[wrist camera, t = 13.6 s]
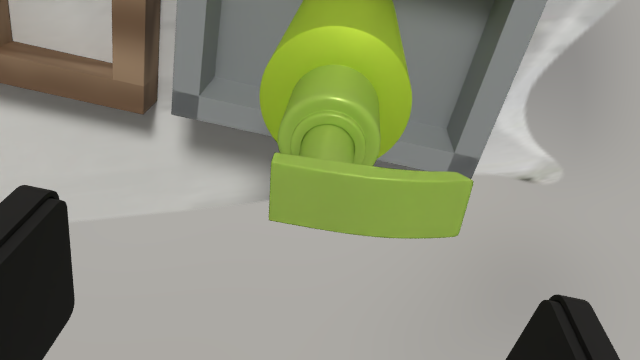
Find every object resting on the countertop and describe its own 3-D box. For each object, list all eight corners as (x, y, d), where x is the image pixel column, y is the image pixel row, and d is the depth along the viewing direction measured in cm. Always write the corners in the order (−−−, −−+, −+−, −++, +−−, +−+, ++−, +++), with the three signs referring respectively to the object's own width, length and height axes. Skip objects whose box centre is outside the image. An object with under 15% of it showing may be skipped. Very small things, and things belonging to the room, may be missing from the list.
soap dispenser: (404, 76, 32) (445, 301, 15) (296, 64, 32) (213, 272, 15) (421, -22, 29) (499, 117, 12) (302, -35, 29) (206, 84, 12)
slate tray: (211, -149, 27) (185, -155, 23) (545, -70, 28) (573, -62, 24) (193, 88, 35) (171, 114, 31) (459, 147, 35) (470, 180, 31)
